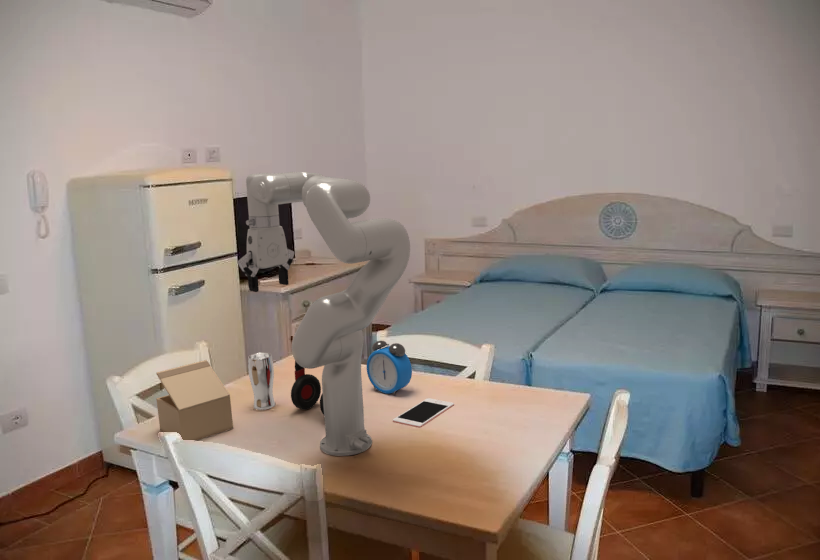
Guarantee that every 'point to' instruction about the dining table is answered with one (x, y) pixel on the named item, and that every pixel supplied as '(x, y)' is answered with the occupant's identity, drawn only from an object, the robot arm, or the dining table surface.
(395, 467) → the dining table surface
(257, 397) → the beer glass
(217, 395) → the lid
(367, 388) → the dining table surface
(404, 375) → the alarm clock
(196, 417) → the carton
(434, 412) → the cell phone
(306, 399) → the headphones
